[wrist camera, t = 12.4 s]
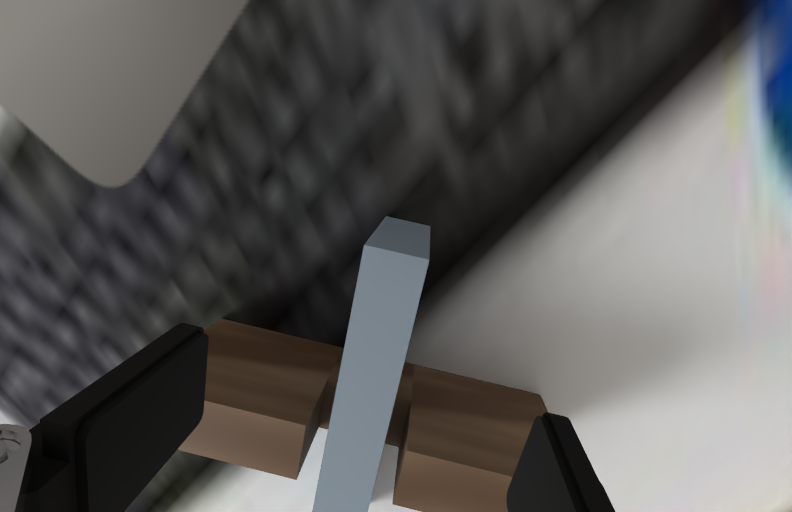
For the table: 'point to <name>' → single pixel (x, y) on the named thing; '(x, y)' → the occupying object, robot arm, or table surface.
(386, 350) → the plain gray rectangular bar
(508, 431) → the slotted board
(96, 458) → the robot arm
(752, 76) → the table surface
